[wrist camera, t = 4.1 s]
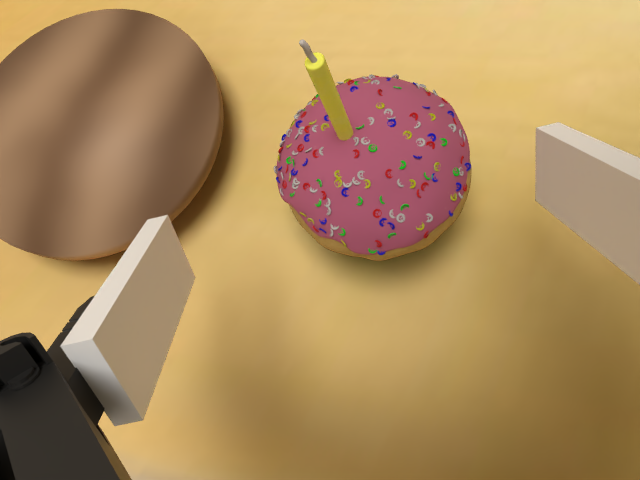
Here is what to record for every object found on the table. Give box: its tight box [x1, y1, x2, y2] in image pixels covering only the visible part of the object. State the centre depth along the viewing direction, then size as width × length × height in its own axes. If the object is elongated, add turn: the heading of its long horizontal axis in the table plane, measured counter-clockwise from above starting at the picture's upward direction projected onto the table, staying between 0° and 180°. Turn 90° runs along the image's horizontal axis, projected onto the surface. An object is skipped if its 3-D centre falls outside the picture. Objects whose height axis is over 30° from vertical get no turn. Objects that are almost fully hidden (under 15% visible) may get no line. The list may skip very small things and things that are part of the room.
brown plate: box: [0, 9, 224, 261], centre depth 25 cm, size 15×15×3 cm
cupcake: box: [274, 40, 471, 261], centre depth 18 cm, size 9×8×12 cm
